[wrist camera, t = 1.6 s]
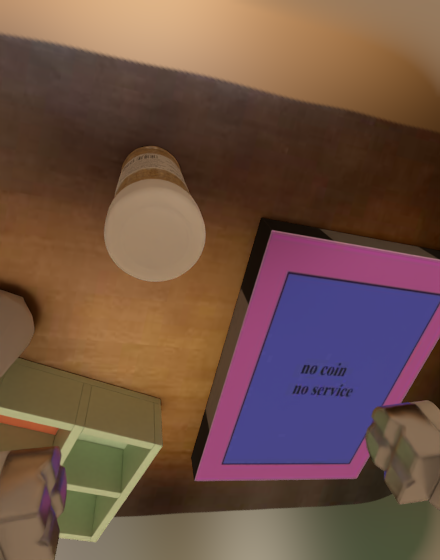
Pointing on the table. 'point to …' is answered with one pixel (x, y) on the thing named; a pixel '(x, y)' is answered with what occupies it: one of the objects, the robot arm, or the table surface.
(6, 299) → the salt shaker
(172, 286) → the table surface
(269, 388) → the book
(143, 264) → the sprinkles bottle
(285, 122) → the table surface
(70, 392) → the rack
